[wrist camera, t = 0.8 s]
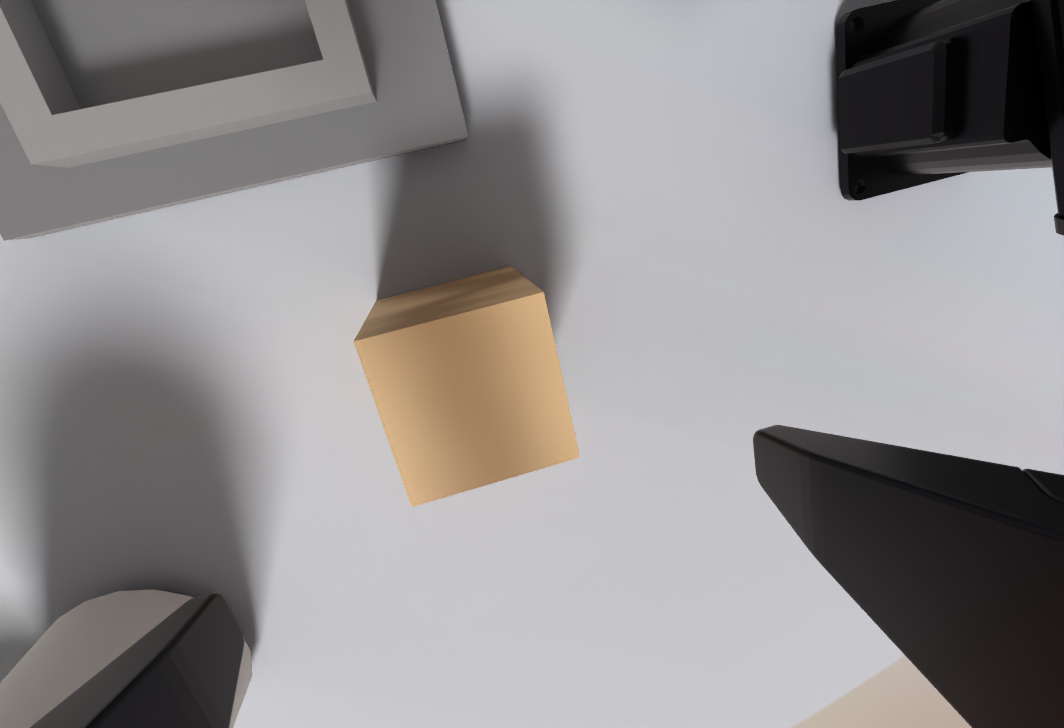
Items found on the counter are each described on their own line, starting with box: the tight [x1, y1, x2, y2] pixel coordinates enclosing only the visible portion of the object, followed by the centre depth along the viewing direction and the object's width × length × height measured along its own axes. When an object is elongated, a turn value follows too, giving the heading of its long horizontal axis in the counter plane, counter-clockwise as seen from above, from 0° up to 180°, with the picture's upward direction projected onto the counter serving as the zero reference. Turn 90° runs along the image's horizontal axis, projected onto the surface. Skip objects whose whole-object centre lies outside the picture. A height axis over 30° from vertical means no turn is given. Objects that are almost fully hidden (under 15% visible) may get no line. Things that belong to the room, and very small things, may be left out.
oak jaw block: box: [354, 266, 580, 507], centre depth 17 cm, size 5×5×6 cm
